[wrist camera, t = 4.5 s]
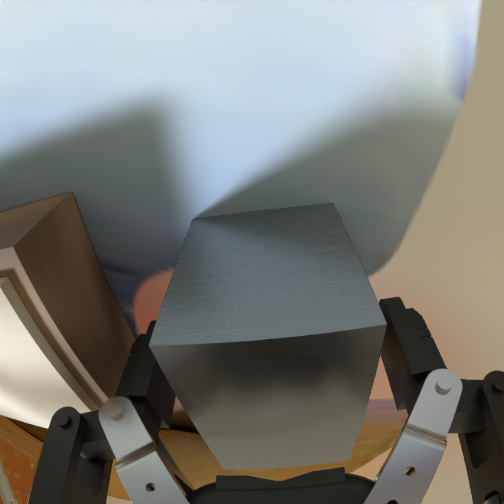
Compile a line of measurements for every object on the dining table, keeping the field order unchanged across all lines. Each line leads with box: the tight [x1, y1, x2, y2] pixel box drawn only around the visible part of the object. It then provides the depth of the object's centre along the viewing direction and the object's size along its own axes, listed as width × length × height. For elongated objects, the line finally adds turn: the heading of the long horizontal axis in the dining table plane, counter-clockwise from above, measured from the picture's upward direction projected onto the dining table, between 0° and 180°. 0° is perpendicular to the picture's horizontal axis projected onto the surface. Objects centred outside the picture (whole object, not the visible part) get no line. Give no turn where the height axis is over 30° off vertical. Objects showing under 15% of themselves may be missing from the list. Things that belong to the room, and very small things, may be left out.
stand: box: [0, 192, 136, 429], centre depth 13 cm, size 12×12×4 cm
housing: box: [149, 203, 387, 469], centre depth 11 cm, size 9×5×6 cm, turn 8°
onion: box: [159, 429, 233, 489], centre depth 19 cm, size 8×8×7 cm
